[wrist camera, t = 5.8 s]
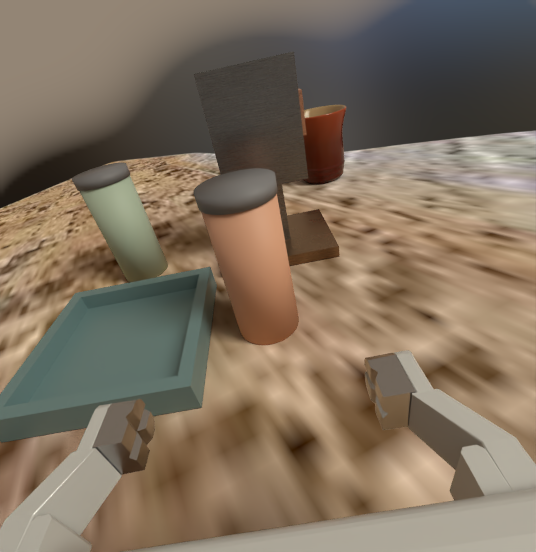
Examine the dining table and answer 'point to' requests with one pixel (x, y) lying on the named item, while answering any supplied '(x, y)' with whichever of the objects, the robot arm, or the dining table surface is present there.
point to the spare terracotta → (251, 251)
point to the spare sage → (122, 220)
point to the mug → (324, 143)
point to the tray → (115, 355)
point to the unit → (266, 139)
